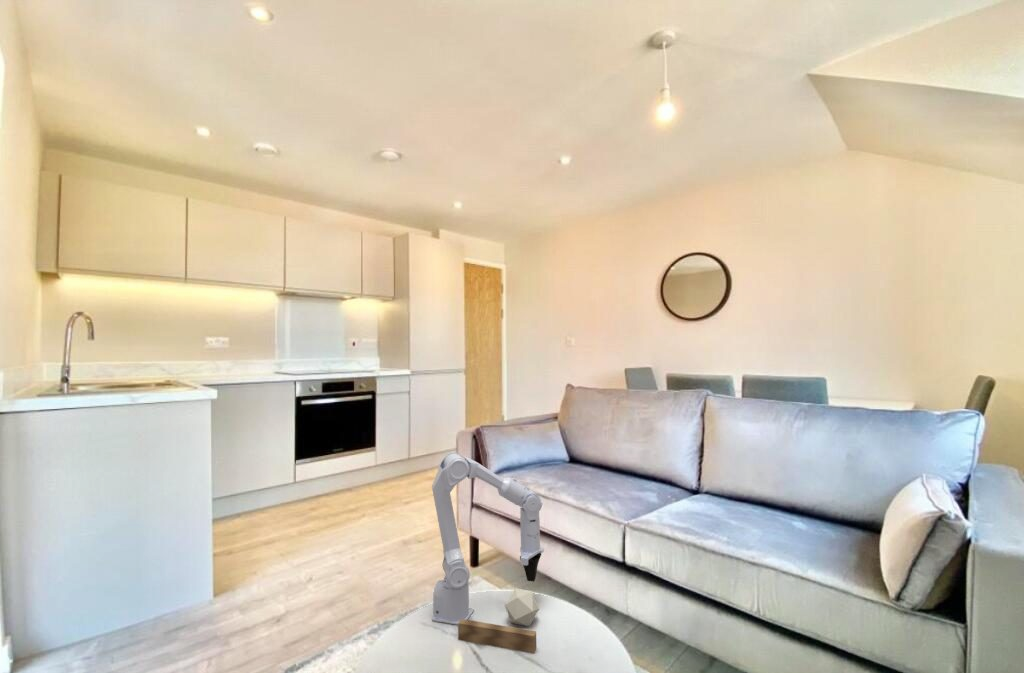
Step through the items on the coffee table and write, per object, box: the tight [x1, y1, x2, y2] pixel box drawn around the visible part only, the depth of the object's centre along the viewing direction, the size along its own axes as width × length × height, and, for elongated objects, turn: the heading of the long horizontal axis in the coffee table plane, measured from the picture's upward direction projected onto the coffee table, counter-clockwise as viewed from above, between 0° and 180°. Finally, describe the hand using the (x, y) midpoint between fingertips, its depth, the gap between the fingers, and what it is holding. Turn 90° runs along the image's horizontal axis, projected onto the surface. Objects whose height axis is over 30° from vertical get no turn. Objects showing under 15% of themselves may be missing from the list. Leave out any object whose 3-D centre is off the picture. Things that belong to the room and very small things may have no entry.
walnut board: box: [457, 619, 537, 654], centre depth 108 cm, size 20×2×4 cm, turn 73°
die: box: [504, 587, 540, 628], centre depth 118 cm, size 8×9×10 cm
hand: (531, 580), depth 127 cm, fingers closed
